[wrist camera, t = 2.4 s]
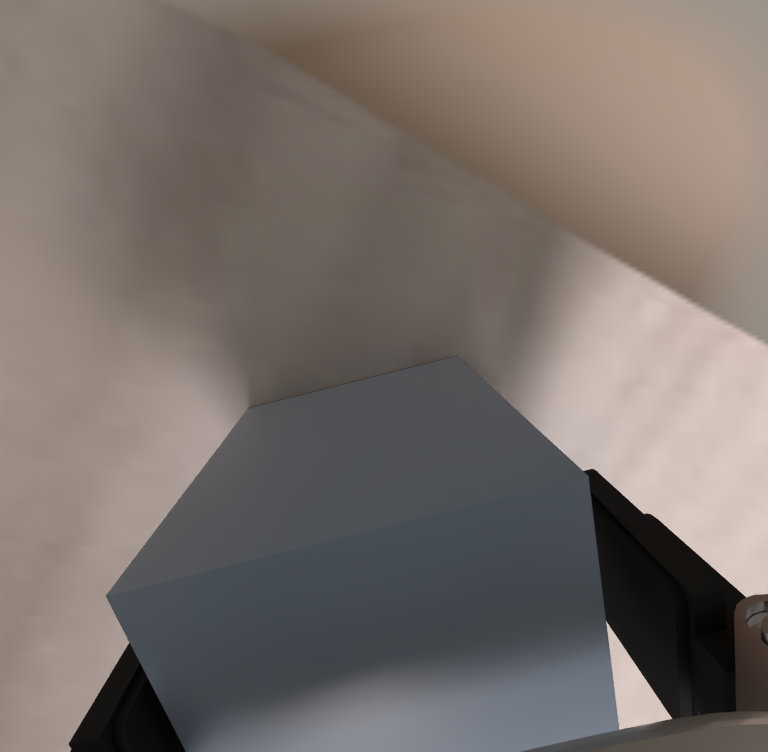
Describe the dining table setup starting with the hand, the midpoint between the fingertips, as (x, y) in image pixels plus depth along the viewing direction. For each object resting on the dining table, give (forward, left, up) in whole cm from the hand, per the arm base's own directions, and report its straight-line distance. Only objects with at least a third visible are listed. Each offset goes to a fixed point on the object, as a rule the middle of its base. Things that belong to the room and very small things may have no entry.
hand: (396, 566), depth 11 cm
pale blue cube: (0, 0, -5) cm, 5 cm away
